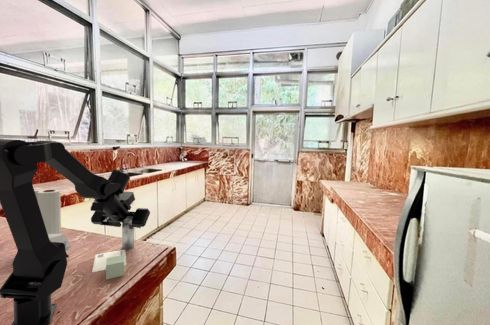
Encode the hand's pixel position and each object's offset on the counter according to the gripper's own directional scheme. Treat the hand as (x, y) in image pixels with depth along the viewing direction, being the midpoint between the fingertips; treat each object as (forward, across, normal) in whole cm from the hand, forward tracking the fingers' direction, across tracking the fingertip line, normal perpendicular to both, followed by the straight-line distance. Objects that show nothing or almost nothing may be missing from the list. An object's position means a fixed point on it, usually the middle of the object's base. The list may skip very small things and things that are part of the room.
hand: (130, 226), depth 81 cm
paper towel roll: (+1, +27, +10) cm, 29 cm away
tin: (+4, 0, +6) cm, 8 cm away
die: (-3, +20, +14) cm, 24 cm away
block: (-7, -6, +18) cm, 21 cm away
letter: (-2, 0, +13) cm, 13 cm away
